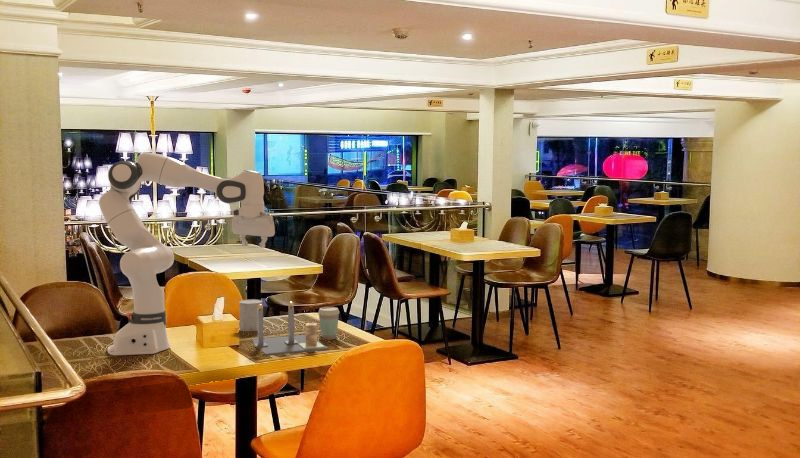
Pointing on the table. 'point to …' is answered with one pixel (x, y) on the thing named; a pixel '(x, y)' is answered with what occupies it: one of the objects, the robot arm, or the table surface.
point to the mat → (285, 345)
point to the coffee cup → (328, 322)
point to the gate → (290, 326)
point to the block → (311, 334)
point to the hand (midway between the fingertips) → (253, 246)
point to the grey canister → (249, 314)
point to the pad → (311, 346)
